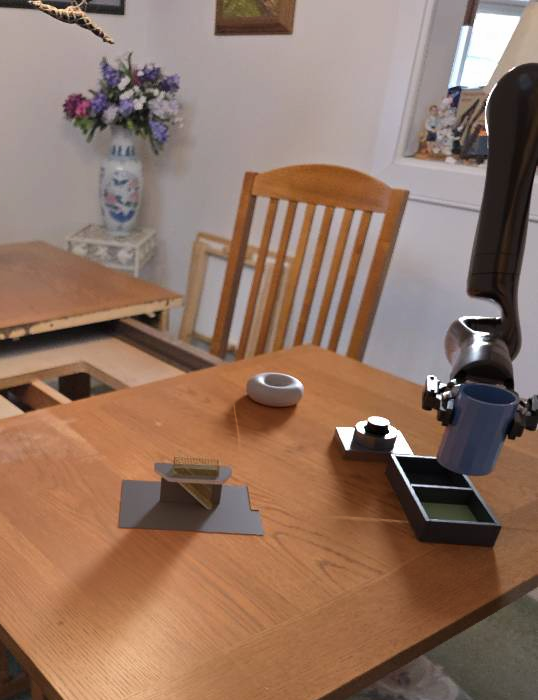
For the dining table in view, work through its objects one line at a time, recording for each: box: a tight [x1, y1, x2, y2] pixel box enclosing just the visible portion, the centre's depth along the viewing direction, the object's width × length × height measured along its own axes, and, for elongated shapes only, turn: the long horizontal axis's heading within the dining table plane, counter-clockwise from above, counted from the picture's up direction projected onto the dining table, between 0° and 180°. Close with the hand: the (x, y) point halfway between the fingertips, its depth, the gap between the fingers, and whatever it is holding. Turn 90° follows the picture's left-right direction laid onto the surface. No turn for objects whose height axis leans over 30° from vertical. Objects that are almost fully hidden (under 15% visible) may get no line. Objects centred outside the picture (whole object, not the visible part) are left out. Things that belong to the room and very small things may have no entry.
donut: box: [245, 372, 305, 408], centre depth 122 cm, size 10×4×10 cm
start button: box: [365, 416, 391, 435], centre depth 106 cm, size 3×3×2 cm
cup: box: [435, 383, 521, 477], centre depth 84 cm, size 7×7×9 cm
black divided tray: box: [384, 454, 503, 548], centre depth 94 cm, size 9×18×3 cm, turn 177°
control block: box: [333, 420, 415, 464], centre depth 107 cm, size 10×8×4 cm
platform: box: [118, 456, 265, 536], centre depth 90 cm, size 12×18×7 cm, turn 88°
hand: (480, 425), depth 81 cm, fingers closed on cup, 6 cm apart
